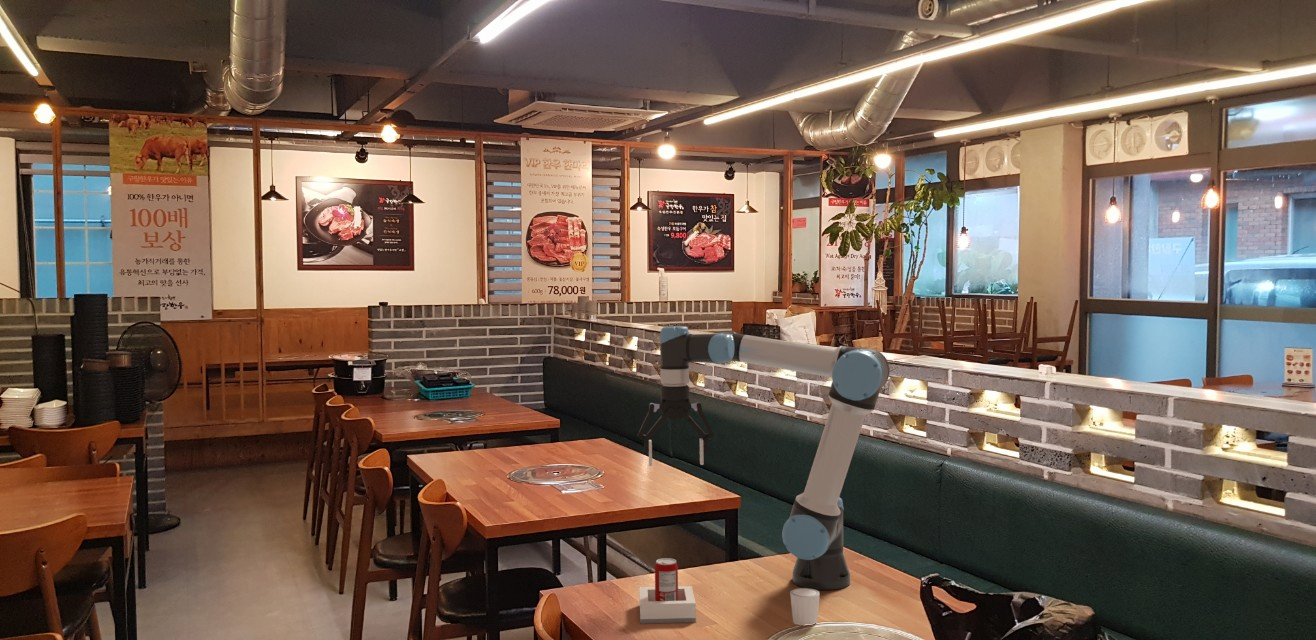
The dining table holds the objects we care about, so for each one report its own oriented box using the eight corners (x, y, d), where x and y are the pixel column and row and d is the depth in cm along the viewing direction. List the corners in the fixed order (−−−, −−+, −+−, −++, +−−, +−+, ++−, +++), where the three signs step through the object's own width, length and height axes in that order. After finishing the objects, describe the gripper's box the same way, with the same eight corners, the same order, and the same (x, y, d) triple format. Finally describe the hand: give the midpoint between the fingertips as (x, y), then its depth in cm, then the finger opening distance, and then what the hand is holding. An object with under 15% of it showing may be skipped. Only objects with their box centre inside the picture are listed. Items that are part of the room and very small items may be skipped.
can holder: (691, 604, 237) (691, 586, 237) (695, 622, 224) (695, 603, 224) (639, 605, 237) (639, 587, 237) (640, 623, 224) (640, 604, 224)
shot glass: (819, 627, 220) (819, 597, 219) (789, 626, 221) (789, 595, 221) (820, 617, 226) (820, 588, 226) (791, 616, 228) (791, 586, 228)
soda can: (667, 603, 234) (666, 555, 234) (683, 609, 230) (682, 559, 230) (650, 609, 231) (650, 559, 230) (666, 614, 227) (665, 564, 226)
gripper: (720, 382, 257) (721, 460, 258) (627, 384, 256) (629, 463, 257) (723, 385, 250) (724, 466, 250) (627, 387, 249) (629, 468, 249)
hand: (676, 464), depth 254 cm, fingers open, 13 cm apart
